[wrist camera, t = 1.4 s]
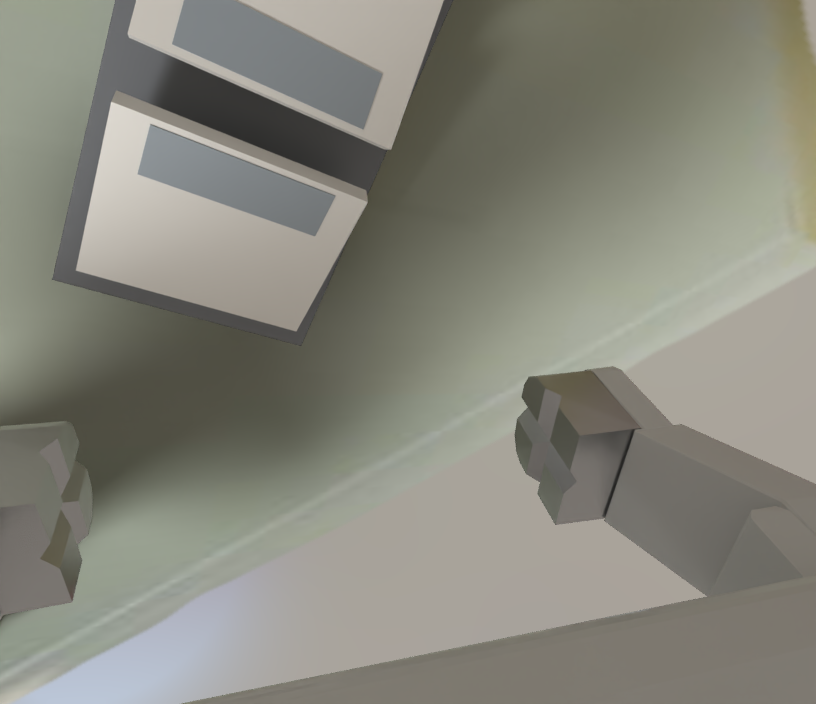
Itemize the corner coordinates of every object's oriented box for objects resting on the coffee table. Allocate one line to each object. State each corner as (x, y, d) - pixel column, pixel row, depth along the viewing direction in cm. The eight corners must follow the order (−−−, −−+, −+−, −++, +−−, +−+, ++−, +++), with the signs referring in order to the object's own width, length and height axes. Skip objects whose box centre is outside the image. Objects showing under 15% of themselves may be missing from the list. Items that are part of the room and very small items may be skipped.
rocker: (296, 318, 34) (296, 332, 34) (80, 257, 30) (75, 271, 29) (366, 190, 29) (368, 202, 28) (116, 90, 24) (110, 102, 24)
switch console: (294, 299, 41) (306, 358, 35) (75, 233, 35) (45, 291, 29) (453, -80, 31) (506, -86, 26) (190, -251, 26) (180, -310, 20)
